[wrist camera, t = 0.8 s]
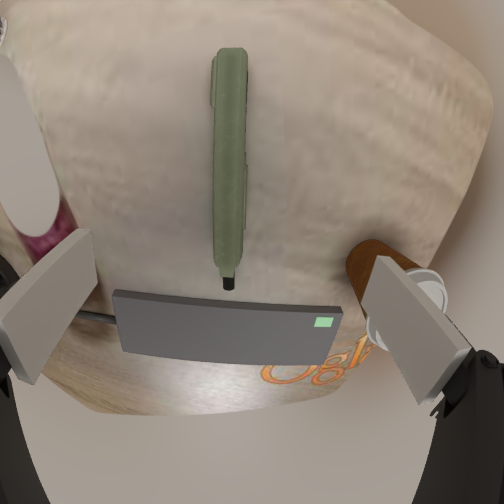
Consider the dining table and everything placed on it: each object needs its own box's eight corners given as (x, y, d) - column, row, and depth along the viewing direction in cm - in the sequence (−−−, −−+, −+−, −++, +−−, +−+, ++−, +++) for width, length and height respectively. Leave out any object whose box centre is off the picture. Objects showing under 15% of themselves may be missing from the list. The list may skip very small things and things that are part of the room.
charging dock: (78, 335, 37) (74, 342, 35) (63, 281, 33) (58, 288, 31) (321, 357, 41) (323, 365, 39) (340, 306, 37) (343, 314, 35)
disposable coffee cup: (410, 245, 33) (464, 293, 22) (373, 301, 37) (411, 360, 26) (359, 214, 31) (413, 260, 20) (319, 280, 35) (351, 345, 24)
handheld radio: (251, 65, 24) (243, 283, 34) (219, 64, 24) (216, 282, 34) (253, 47, 18) (243, 317, 28) (211, 47, 18) (210, 316, 28)
